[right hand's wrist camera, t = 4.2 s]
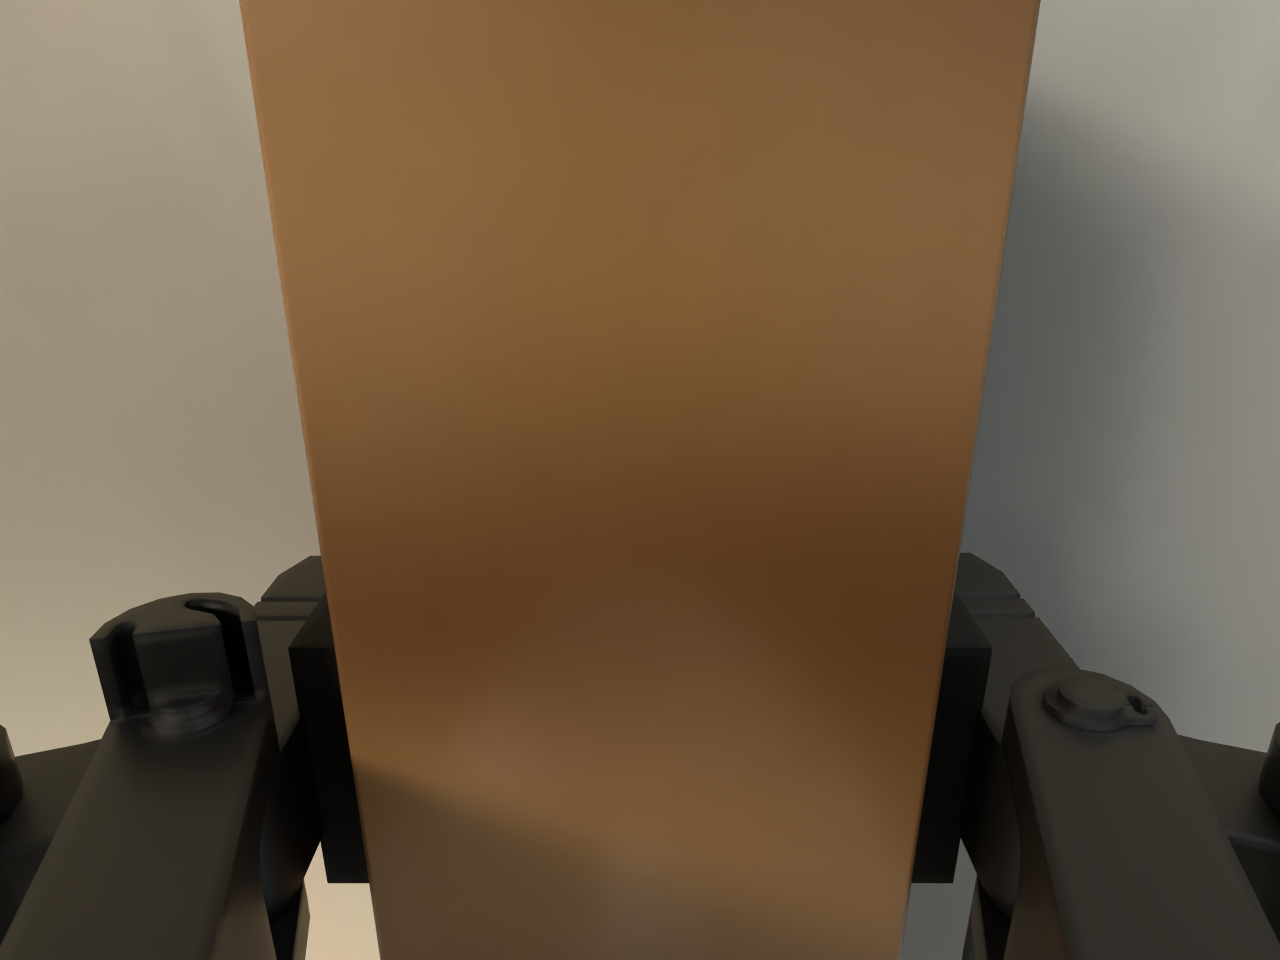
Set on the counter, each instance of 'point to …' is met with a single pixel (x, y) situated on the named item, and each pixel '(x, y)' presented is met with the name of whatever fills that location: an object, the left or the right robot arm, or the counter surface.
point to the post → (640, 445)
